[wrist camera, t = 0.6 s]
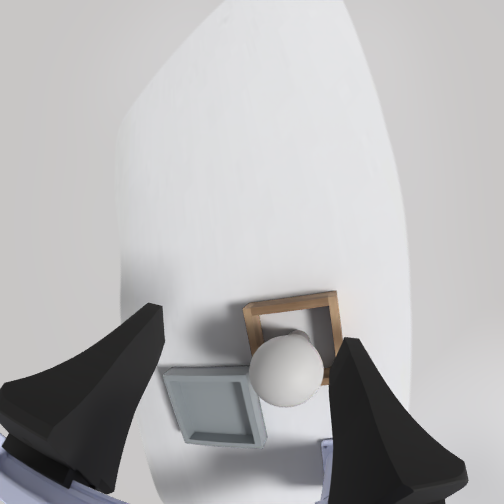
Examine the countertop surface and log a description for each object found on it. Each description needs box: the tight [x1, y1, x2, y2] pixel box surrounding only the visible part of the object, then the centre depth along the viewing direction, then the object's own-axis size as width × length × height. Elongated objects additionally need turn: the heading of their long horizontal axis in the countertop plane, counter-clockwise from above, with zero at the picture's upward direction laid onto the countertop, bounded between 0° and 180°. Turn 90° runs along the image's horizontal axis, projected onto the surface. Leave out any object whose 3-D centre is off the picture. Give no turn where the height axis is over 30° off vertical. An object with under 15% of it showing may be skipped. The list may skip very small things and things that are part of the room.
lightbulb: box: [249, 330, 324, 407], centre depth 26 cm, size 6×6×11 cm
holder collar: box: [243, 291, 343, 386], centre depth 30 cm, size 9×9×2 cm
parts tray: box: [163, 366, 267, 449], centre depth 34 cm, size 11×11×2 cm
